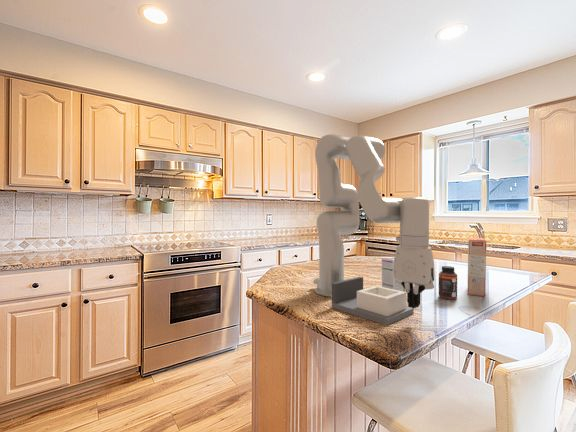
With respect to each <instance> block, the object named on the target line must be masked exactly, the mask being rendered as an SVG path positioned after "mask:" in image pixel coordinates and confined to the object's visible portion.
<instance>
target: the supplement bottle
mask: <svg viewBox="0 0 576 432" xmlns="http://www.w3.org/2000/svg"><path fill="white" fill-rule="evenodd" d="M438 296H439V298H441V299H444V300H453V301H454V300H457V298H458V274H457V273H456V272H455V267H454V266H450V265H444V266H443V265H442V266H441V271H440V272H439V273H438Z"/></svg>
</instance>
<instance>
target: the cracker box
mask: <svg viewBox="0 0 576 432" xmlns="http://www.w3.org/2000/svg"><path fill="white" fill-rule="evenodd" d="M467 247H468V249H467V295H469V296H477V297H486V284H487V283H486V282H487V281H486V280H487V278H486V277H487V276H486V275H487V272H486V271H487V240H486V238H484V237H468V246H467Z"/></svg>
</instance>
